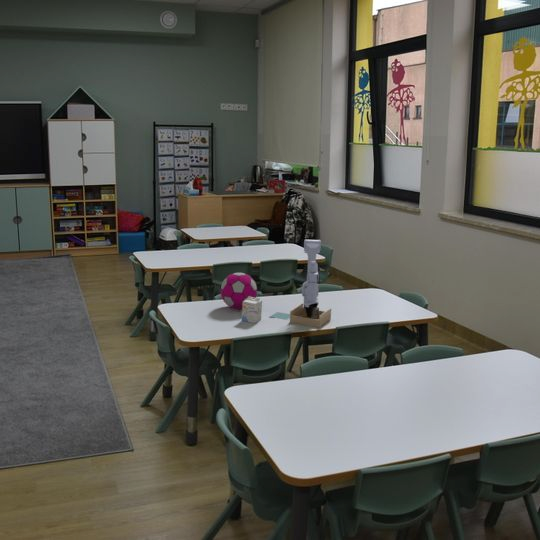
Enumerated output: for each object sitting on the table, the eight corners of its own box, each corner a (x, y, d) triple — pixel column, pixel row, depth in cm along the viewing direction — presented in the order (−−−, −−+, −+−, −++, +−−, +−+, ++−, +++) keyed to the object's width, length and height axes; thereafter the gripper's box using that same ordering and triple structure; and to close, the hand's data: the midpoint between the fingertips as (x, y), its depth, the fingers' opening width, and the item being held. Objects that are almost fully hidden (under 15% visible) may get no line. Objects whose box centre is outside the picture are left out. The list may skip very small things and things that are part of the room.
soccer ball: (249, 315, 397) (250, 278, 392) (214, 310, 404) (215, 275, 399) (261, 305, 418) (262, 271, 413) (228, 301, 424) (228, 267, 419)
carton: (301, 314, 402) (302, 303, 400) (330, 319, 394) (331, 308, 393) (289, 322, 386) (290, 311, 384) (319, 327, 378) (320, 315, 377)
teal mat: (277, 312, 404) (277, 312, 404) (294, 315, 400) (294, 314, 400) (269, 317, 395) (269, 316, 395) (286, 320, 390) (286, 319, 390)
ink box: (241, 320, 386) (242, 298, 383) (248, 317, 394) (249, 295, 390) (254, 323, 382) (255, 300, 379) (261, 319, 390) (262, 297, 387)
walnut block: (305, 317, 393) (306, 305, 392) (318, 319, 390) (319, 307, 389) (302, 319, 389) (303, 307, 388) (315, 321, 386) (316, 309, 385)
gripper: (313, 297, 378) (312, 320, 381) (322, 291, 391) (321, 314, 394) (302, 295, 381) (301, 318, 384) (311, 289, 394) (310, 312, 397)
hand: (310, 316), depth 389 cm, fingers closed on walnut block, 4 cm apart
